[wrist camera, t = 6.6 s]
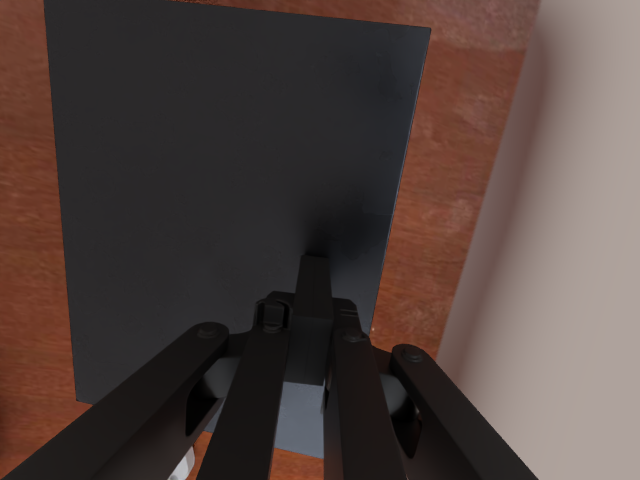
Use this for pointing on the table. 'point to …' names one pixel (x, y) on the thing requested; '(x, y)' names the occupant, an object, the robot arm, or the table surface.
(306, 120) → the laptop screen
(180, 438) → the robot arm
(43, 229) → the table surface
